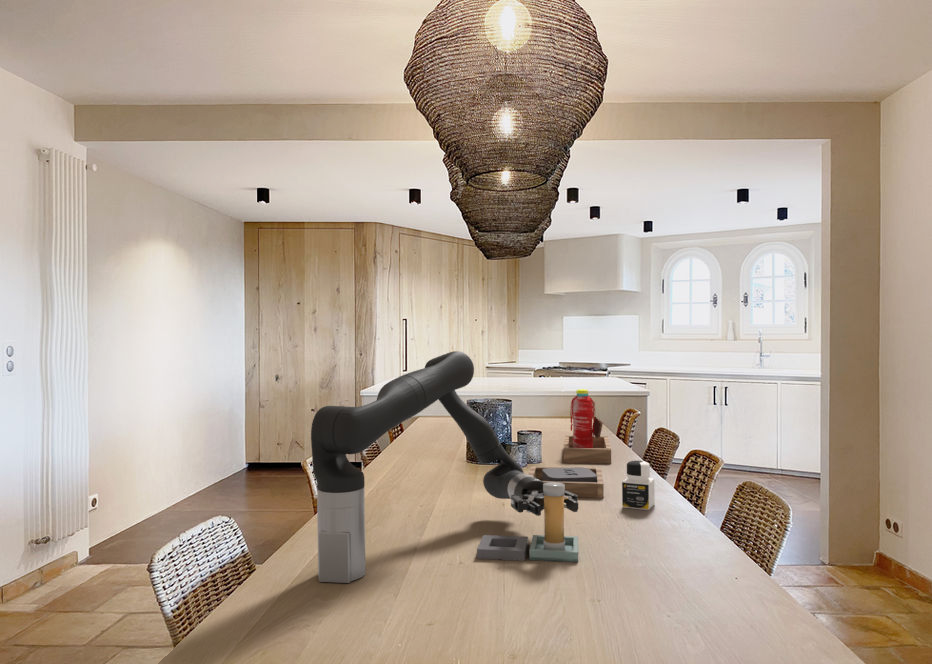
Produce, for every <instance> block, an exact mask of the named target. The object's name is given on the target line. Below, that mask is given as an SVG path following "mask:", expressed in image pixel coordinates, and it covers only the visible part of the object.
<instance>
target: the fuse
mask: <svg viewBox="0 0 932 664" xmlns="http://www.w3.org/2000/svg"><path fill="white" fill-rule="evenodd" d="M543 494H544V510H543V518H544V521H543V522H544V524H543V526H544V530H543V531H544V532H543V534H544V538H545V539H544V550H565V540H564V536H565V508H564V504H565V503H564V495H565V485H564V484H563V483H558V482H548V483H544V484H543Z"/></svg>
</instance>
